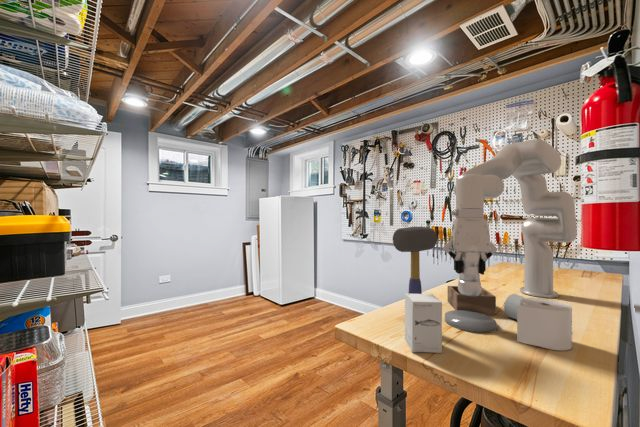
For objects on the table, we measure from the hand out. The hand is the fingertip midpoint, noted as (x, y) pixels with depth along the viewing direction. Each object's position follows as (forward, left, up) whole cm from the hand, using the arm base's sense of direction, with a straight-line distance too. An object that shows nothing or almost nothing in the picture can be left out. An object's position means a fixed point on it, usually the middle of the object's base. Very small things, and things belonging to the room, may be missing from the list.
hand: (469, 272), depth 85 cm
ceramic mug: (-5, +18, -16) cm, 25 cm away
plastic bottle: (0, 0, -7) cm, 7 cm away
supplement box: (+18, -17, -16) cm, 29 cm away
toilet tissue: (+10, +15, -16) cm, 24 cm away
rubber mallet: (+6, -17, -16) cm, 24 cm away
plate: (0, 0, -16) cm, 16 cm away
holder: (-15, +5, -16) cm, 22 cm away
